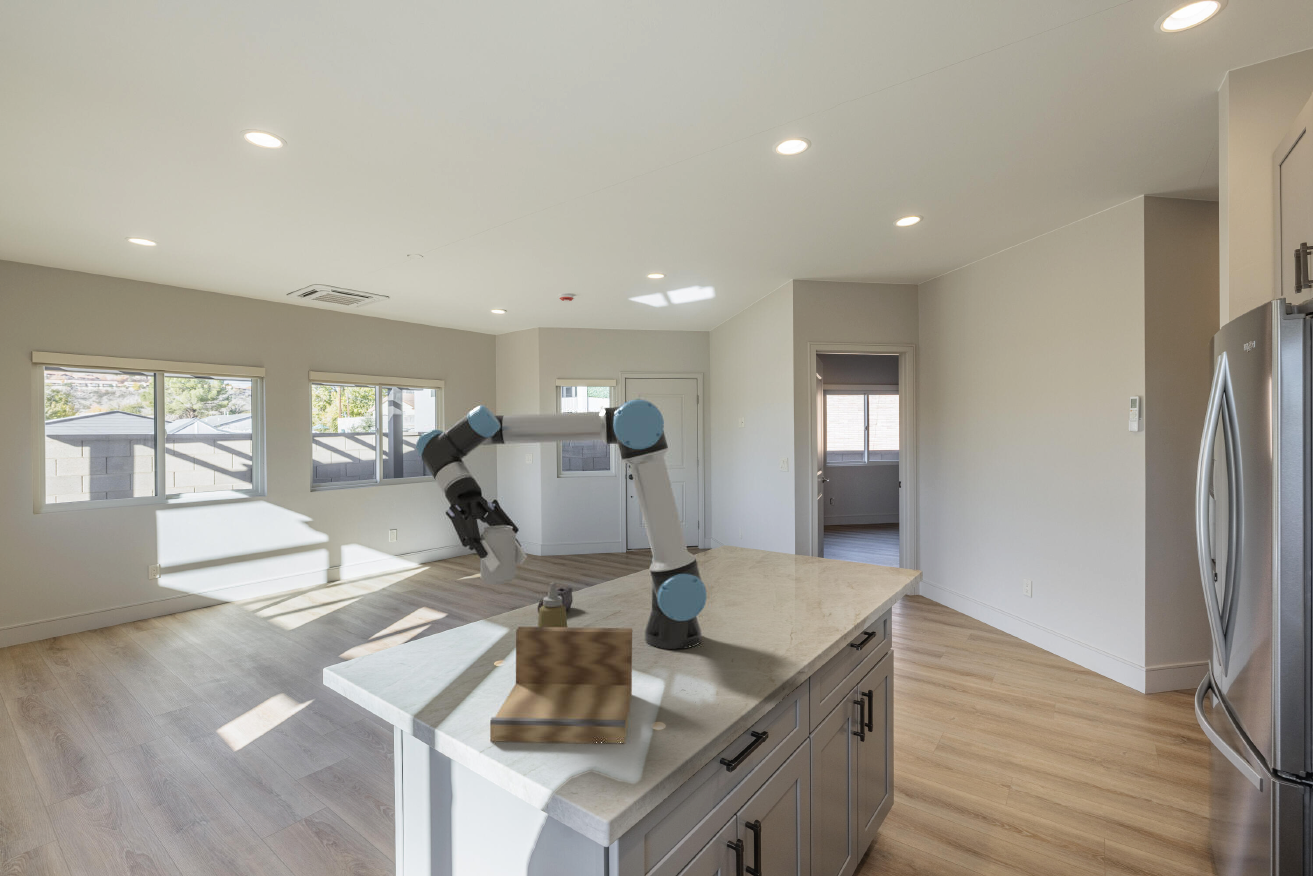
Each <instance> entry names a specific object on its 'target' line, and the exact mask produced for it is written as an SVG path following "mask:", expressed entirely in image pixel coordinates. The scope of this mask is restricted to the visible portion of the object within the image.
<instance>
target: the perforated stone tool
mask: <svg viewBox="0 0 1313 876" xmlns="http://www.w3.org/2000/svg"><path fill="white" fill-rule="evenodd" d="M556 590H557V594H558V596H560V597H562V605H563V606H564V607H566V611H567V610H568V609H570V608H571V607H572V604H573V588H572V587H571V586H567V585H566V586H563V587H560V588H556ZM547 596H548V593H547V594H546V595H544V596H543V597H542V598H541V599H540V600H539V603H538V605H537V613H538V614H539V609H540V608H541V607H542V606H543V598H544V597H547Z"/></svg>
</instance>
